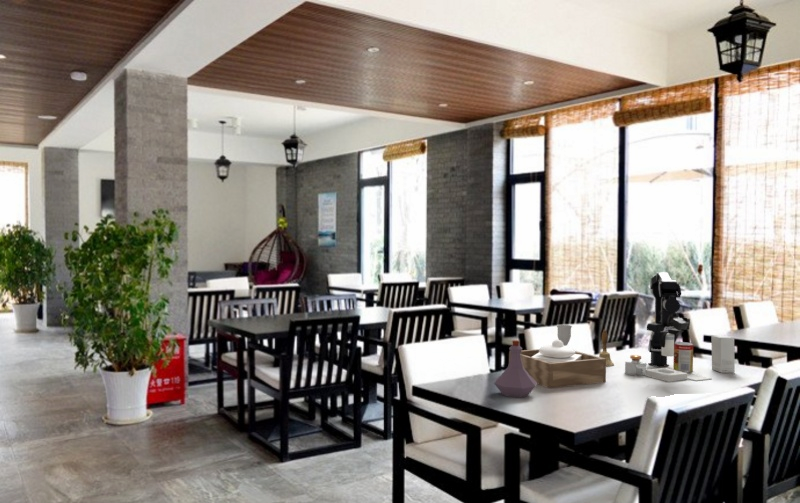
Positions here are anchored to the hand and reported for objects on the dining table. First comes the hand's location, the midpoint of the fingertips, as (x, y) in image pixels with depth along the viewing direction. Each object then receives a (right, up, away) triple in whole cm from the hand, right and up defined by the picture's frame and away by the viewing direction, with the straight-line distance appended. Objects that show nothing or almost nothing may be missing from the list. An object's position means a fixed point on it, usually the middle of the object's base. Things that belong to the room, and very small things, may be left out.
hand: (667, 347), depth 258 cm
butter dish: (-48, -13, -2) cm, 49 cm away
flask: (-70, -13, -30) cm, 78 cm away
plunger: (-11, -12, +7) cm, 18 cm away
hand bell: (-18, -13, +27) cm, 34 cm away
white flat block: (-1, -13, 0) cm, 13 cm away
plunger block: (-11, -13, +7) cm, 18 cm away
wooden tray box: (-48, -13, -2) cm, 49 cm away
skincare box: (+31, -13, +14) cm, 36 cm away
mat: (+11, -13, -1) cm, 17 cm away
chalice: (-37, -12, +26) cm, 47 cm away
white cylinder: (0, -4, 0) cm, 4 cm away
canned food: (+14, -13, +15) cm, 24 cm away
